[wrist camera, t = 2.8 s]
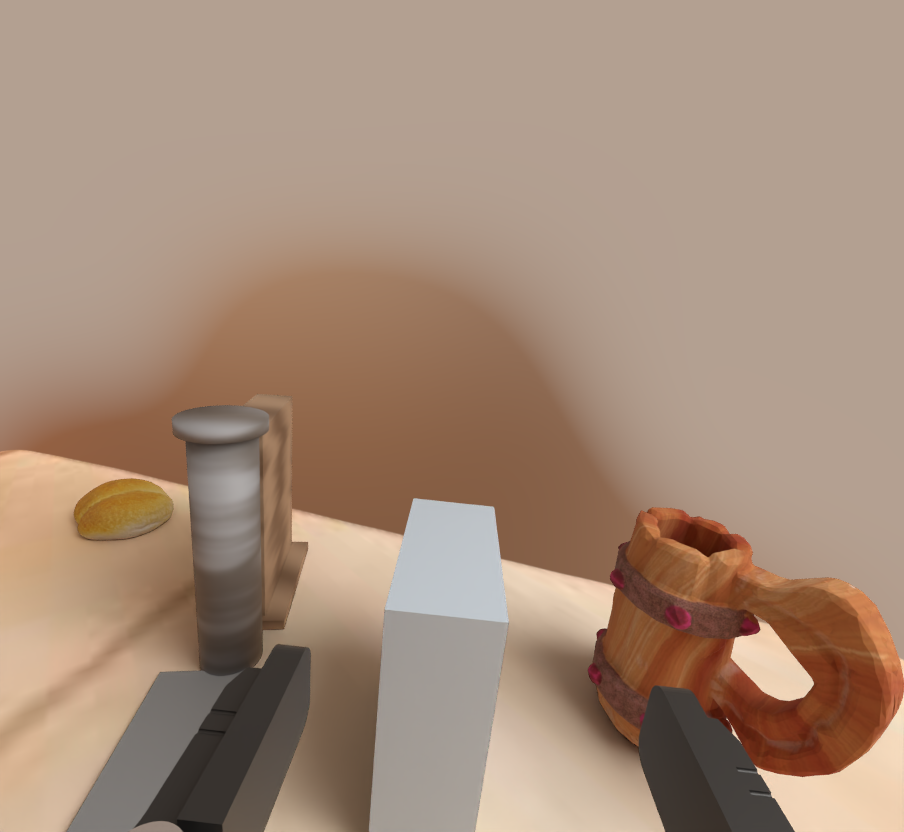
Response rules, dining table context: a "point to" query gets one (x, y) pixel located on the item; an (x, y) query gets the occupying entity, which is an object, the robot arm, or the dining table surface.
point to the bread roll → (122, 510)
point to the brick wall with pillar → (240, 526)
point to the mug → (712, 637)
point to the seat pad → (149, 750)
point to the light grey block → (439, 670)
